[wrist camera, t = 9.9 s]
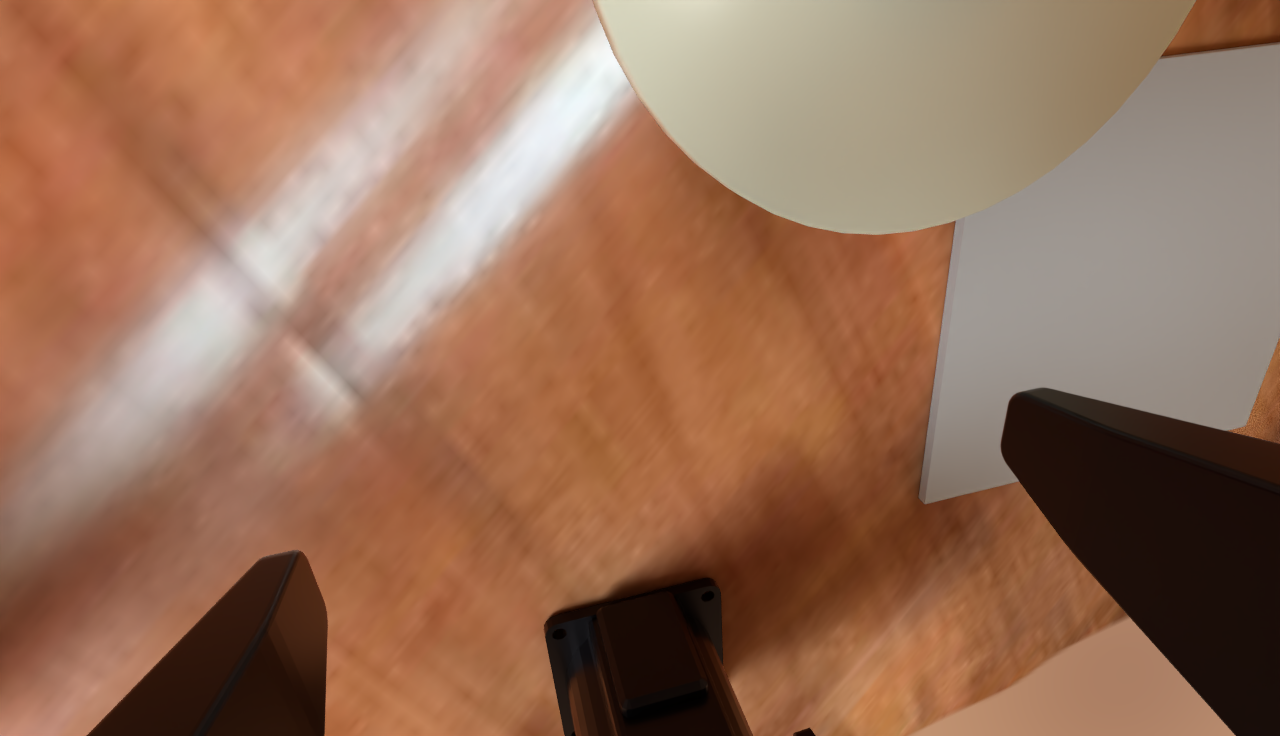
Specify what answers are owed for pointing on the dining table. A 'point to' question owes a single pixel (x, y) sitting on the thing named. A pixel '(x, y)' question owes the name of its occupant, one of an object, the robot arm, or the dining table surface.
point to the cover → (884, 95)
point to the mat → (1122, 270)
